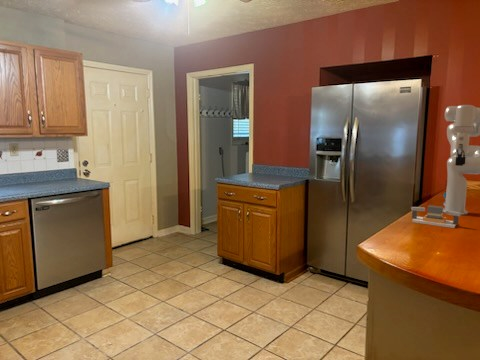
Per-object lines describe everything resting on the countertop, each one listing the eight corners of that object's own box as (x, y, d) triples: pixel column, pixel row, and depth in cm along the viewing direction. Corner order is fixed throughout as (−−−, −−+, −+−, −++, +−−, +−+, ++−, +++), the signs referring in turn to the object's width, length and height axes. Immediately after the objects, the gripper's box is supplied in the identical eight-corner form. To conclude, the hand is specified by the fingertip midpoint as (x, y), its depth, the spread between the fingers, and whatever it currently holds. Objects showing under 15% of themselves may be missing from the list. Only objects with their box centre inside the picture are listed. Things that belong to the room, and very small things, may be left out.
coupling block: (428, 218, 179) (429, 205, 178) (442, 220, 175) (443, 206, 174) (426, 220, 175) (427, 206, 174) (440, 222, 171) (441, 208, 170)
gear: (452, 204, 213) (442, 191, 219) (444, 210, 217) (434, 197, 223) (461, 205, 219) (451, 192, 225) (453, 210, 223) (444, 198, 228)
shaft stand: (408, 221, 177) (409, 208, 177) (412, 218, 185) (413, 205, 184) (458, 228, 165) (459, 214, 164) (460, 224, 173) (461, 210, 172)
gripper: (470, 130, 167) (467, 166, 169) (473, 130, 181) (470, 164, 183) (452, 130, 171) (449, 165, 173) (456, 130, 185) (453, 163, 187)
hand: (460, 164), depth 178 cm, fingers open, 9 cm apart
